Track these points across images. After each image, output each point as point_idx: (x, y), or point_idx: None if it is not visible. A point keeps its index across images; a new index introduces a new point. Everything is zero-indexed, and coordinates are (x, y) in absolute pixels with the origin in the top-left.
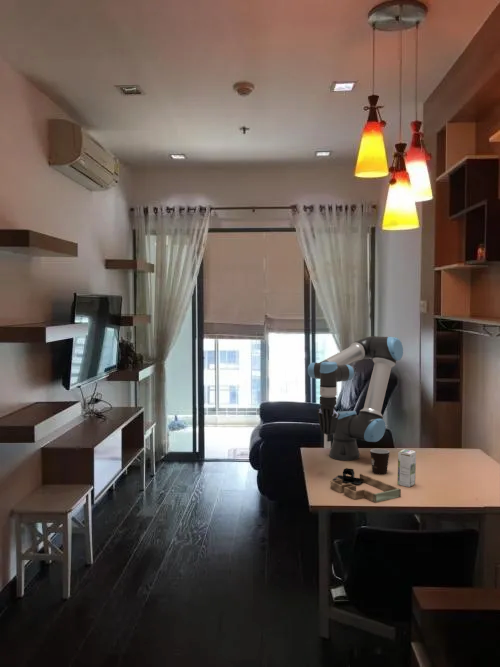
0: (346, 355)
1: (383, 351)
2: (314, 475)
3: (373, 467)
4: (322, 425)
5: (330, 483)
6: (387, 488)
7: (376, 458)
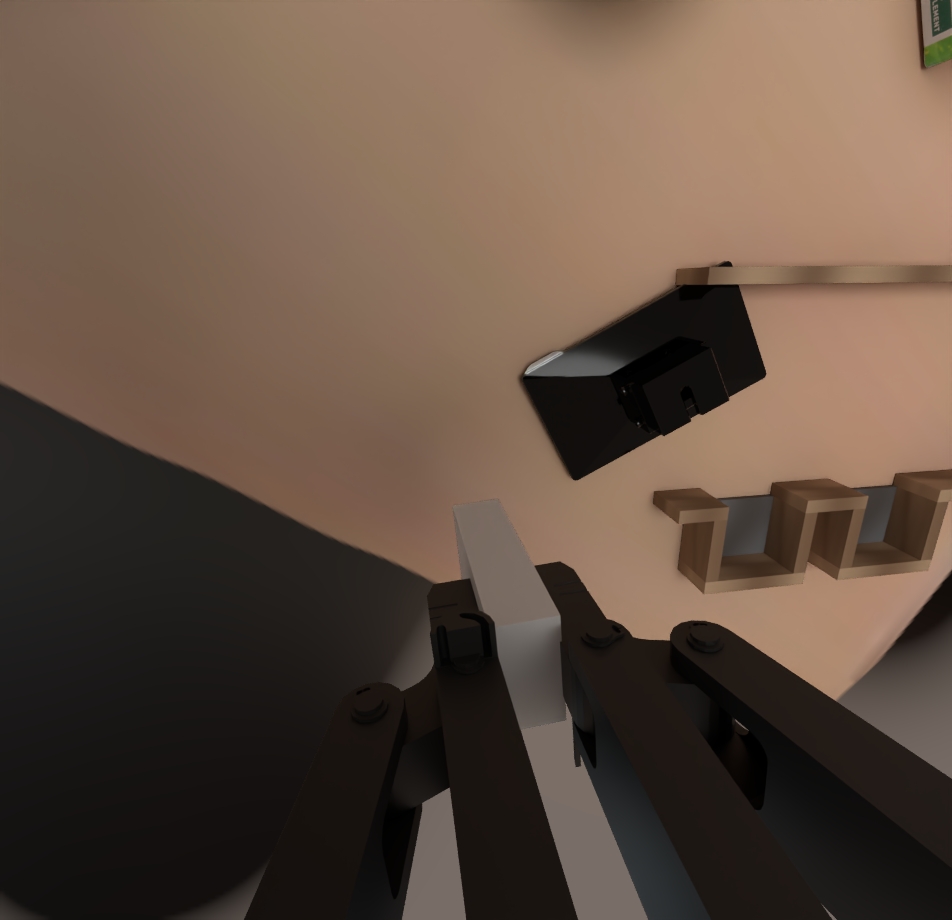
0: None
1: None
2: (396, 524)
3: None
4: (390, 895)
5: (695, 585)
6: None
7: None
